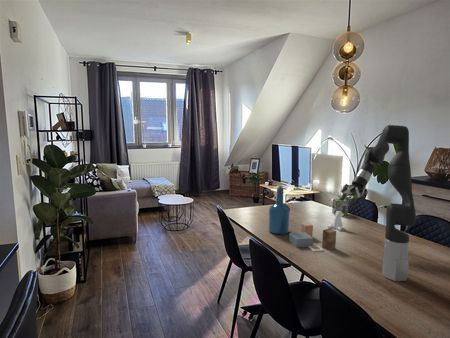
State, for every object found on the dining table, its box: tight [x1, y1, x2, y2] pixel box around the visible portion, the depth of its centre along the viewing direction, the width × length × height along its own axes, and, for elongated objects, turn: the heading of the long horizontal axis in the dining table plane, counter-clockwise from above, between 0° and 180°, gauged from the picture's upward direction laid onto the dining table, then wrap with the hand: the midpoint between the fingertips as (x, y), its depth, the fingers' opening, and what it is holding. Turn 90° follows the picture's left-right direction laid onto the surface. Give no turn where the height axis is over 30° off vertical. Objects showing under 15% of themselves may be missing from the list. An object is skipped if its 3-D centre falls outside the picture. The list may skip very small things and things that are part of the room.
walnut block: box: [321, 228, 337, 251], centre depth 168 cm, size 5×5×10 cm
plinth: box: [288, 231, 314, 248], centre depth 174 cm, size 10×10×5 cm
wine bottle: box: [267, 184, 291, 235], centre depth 192 cm, size 14×13×30 cm
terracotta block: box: [300, 222, 314, 238], centre depth 185 cm, size 5×5×8 cm
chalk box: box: [331, 194, 349, 217], centre depth 235 cm, size 9×9×15 cm
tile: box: [308, 245, 324, 253], centre depth 166 cm, size 6×6×1 cm
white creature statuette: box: [327, 211, 344, 232], centre depth 201 cm, size 10×9×12 cm
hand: (348, 202), depth 173 cm, fingers open, 8 cm apart
